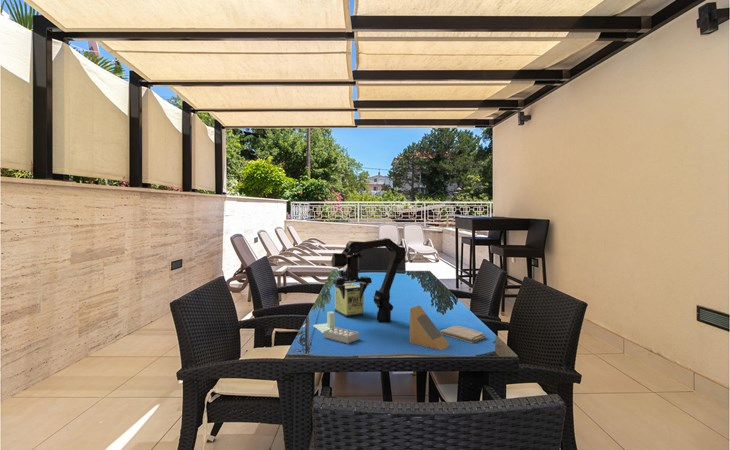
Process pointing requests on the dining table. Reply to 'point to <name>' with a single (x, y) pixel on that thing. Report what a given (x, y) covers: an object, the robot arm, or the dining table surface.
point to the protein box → (349, 301)
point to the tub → (341, 335)
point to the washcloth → (463, 333)
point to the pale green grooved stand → (329, 323)
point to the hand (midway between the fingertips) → (352, 298)
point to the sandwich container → (425, 330)
